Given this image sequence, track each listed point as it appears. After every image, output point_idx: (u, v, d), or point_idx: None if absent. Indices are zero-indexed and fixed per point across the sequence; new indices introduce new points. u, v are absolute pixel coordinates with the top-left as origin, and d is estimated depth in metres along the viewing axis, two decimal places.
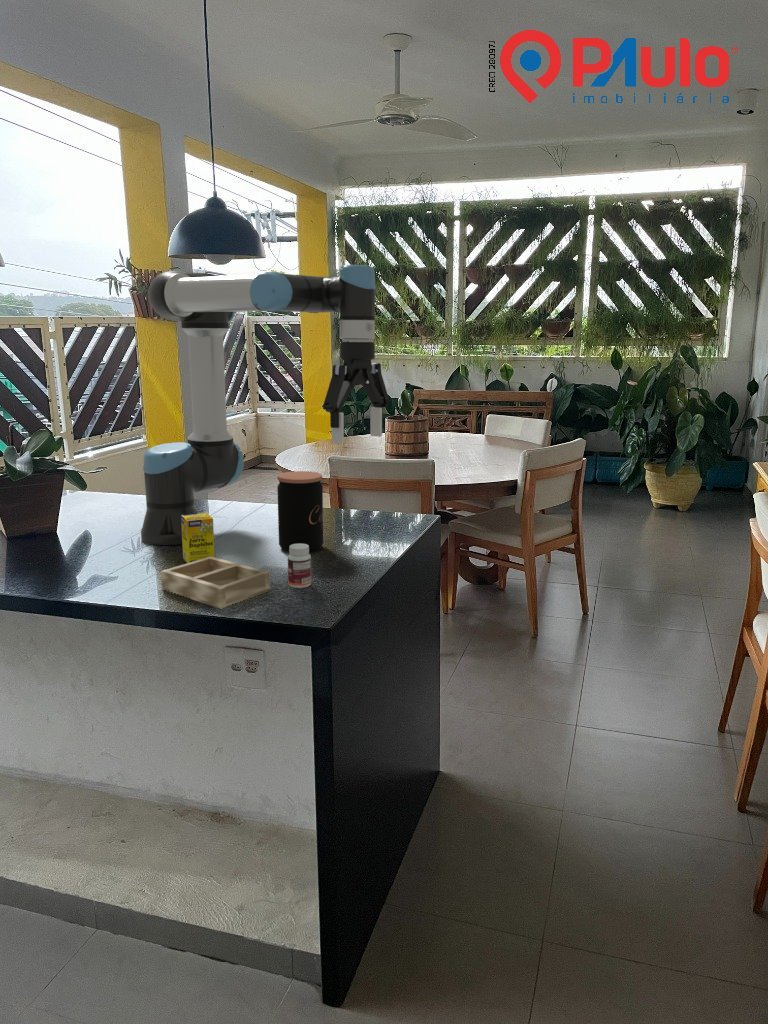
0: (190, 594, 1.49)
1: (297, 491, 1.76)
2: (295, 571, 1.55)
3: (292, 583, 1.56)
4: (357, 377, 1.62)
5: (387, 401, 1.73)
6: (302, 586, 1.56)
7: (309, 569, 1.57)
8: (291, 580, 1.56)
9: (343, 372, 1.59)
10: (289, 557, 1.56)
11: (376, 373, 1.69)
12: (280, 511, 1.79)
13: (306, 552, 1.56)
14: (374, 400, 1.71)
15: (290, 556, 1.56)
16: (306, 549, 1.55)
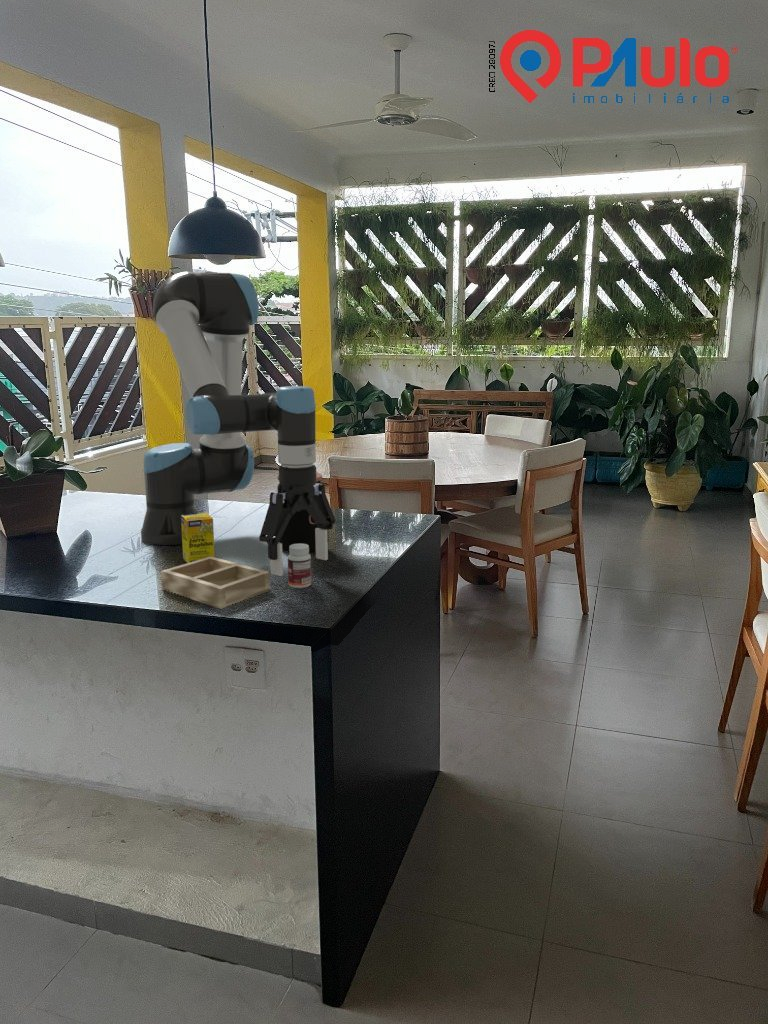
0: (190, 594, 1.49)
1: None
2: (295, 571, 1.55)
3: (292, 583, 1.56)
4: (297, 504, 1.51)
5: (333, 522, 1.62)
6: (302, 586, 1.56)
7: (309, 569, 1.57)
8: (291, 580, 1.56)
9: (281, 501, 1.48)
10: (289, 557, 1.56)
11: (320, 495, 1.58)
12: None
13: (306, 552, 1.56)
14: (319, 522, 1.60)
15: (290, 556, 1.56)
16: (306, 549, 1.55)
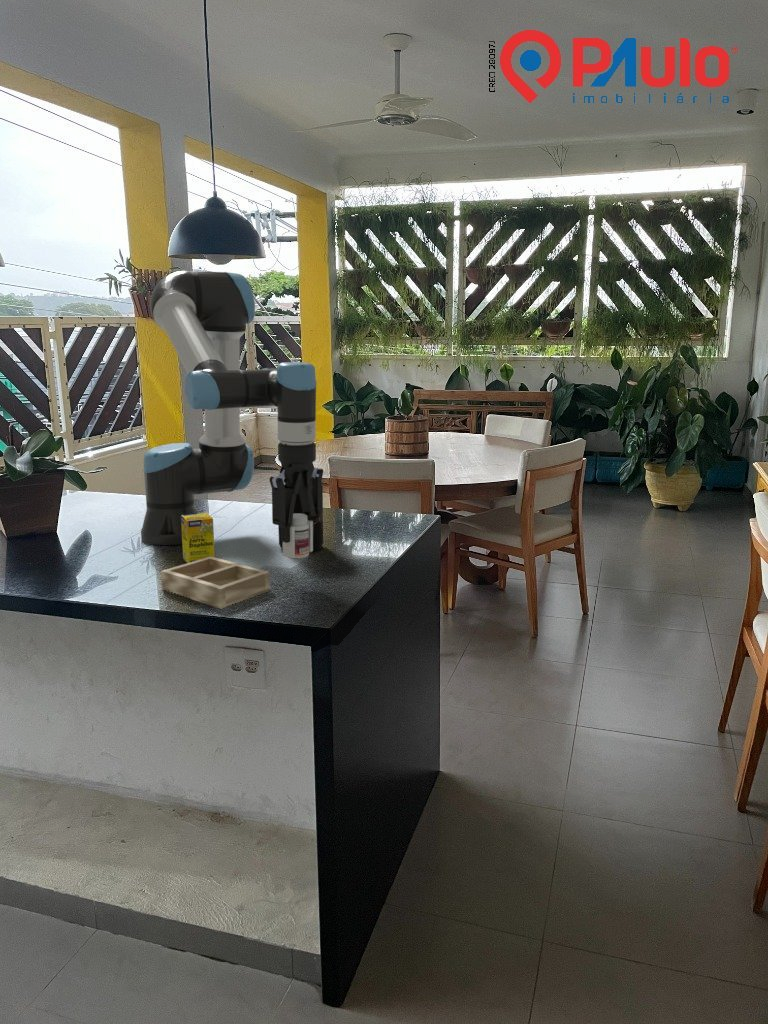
0: (190, 594, 1.49)
1: None
2: None
3: None
4: (298, 482, 1.51)
5: (319, 512, 1.59)
6: (300, 556, 1.55)
7: (307, 539, 1.56)
8: None
9: (282, 485, 1.48)
10: None
11: (316, 478, 1.57)
12: None
13: (304, 522, 1.54)
14: (306, 510, 1.57)
15: None
16: (305, 519, 1.54)
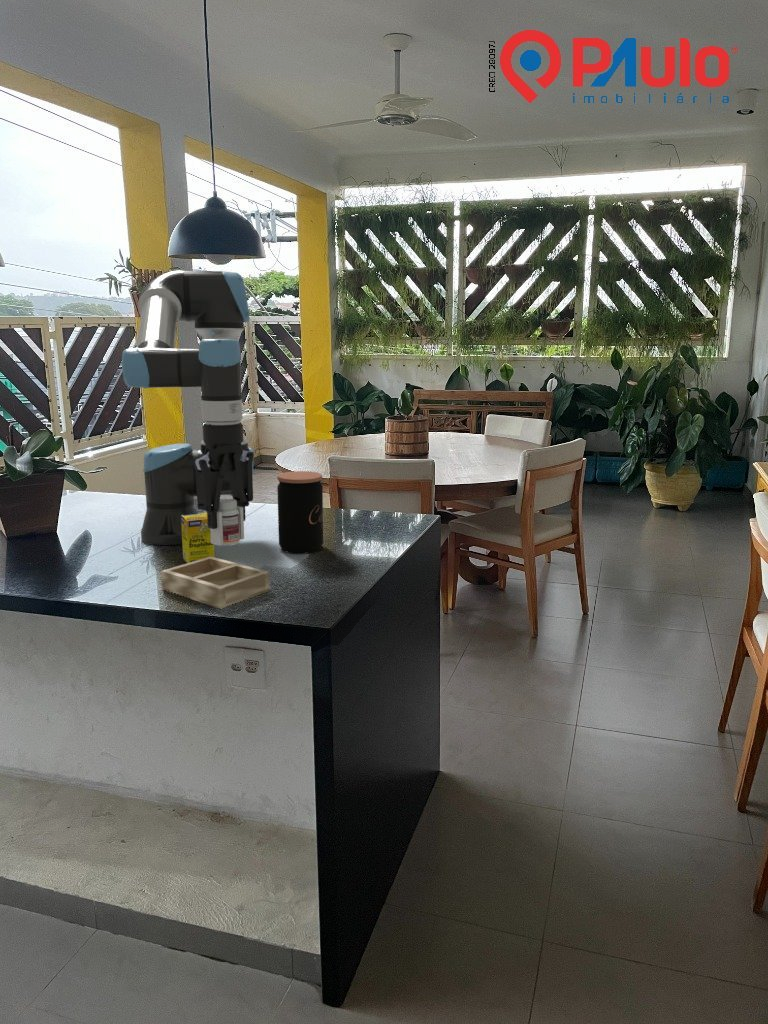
0: (190, 594, 1.49)
1: (297, 491, 1.76)
2: None
3: None
4: (224, 465, 1.44)
5: (250, 498, 1.51)
6: (229, 543, 1.47)
7: (237, 525, 1.48)
8: None
9: (205, 467, 1.41)
10: None
11: (246, 462, 1.49)
12: (280, 511, 1.79)
13: (233, 507, 1.47)
14: (236, 495, 1.50)
15: None
16: (233, 504, 1.47)
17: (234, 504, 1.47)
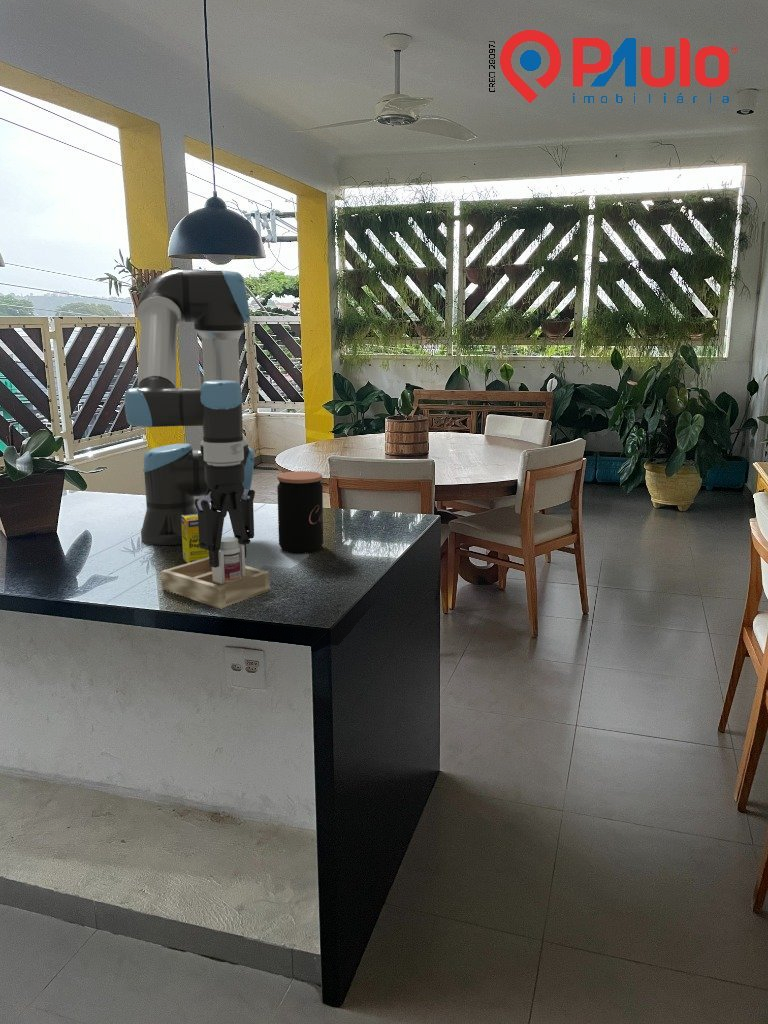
0: (190, 594, 1.49)
1: (297, 491, 1.76)
2: None
3: None
4: (225, 504, 1.46)
5: (251, 535, 1.53)
6: (230, 581, 1.49)
7: (238, 563, 1.50)
8: None
9: (207, 507, 1.43)
10: None
11: (247, 500, 1.51)
12: (280, 511, 1.79)
13: (234, 545, 1.49)
14: (237, 533, 1.51)
15: None
16: (235, 543, 1.49)
17: (235, 542, 1.49)
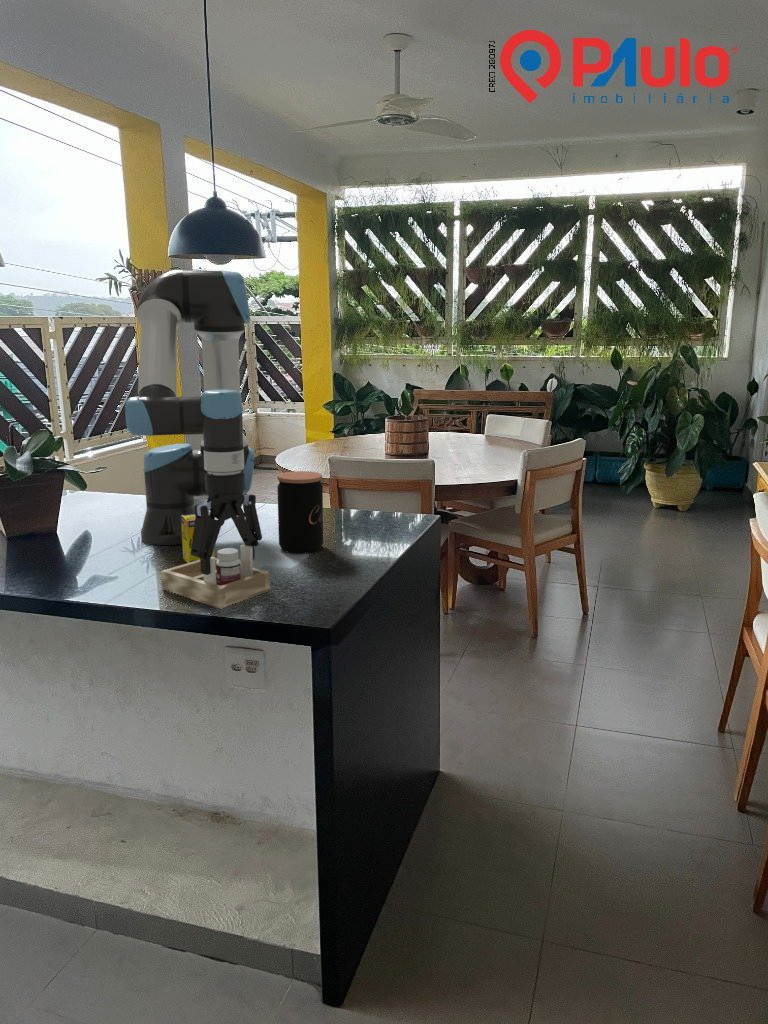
0: (190, 594, 1.49)
1: (297, 491, 1.76)
2: (223, 577, 1.49)
3: None
4: (225, 513, 1.46)
5: (259, 538, 1.55)
6: None
7: (238, 575, 1.50)
8: None
9: (206, 513, 1.43)
10: (217, 562, 1.50)
11: (249, 505, 1.52)
12: (280, 511, 1.79)
13: (235, 557, 1.49)
14: (244, 536, 1.53)
15: (218, 561, 1.49)
16: (235, 554, 1.49)
17: (236, 554, 1.49)
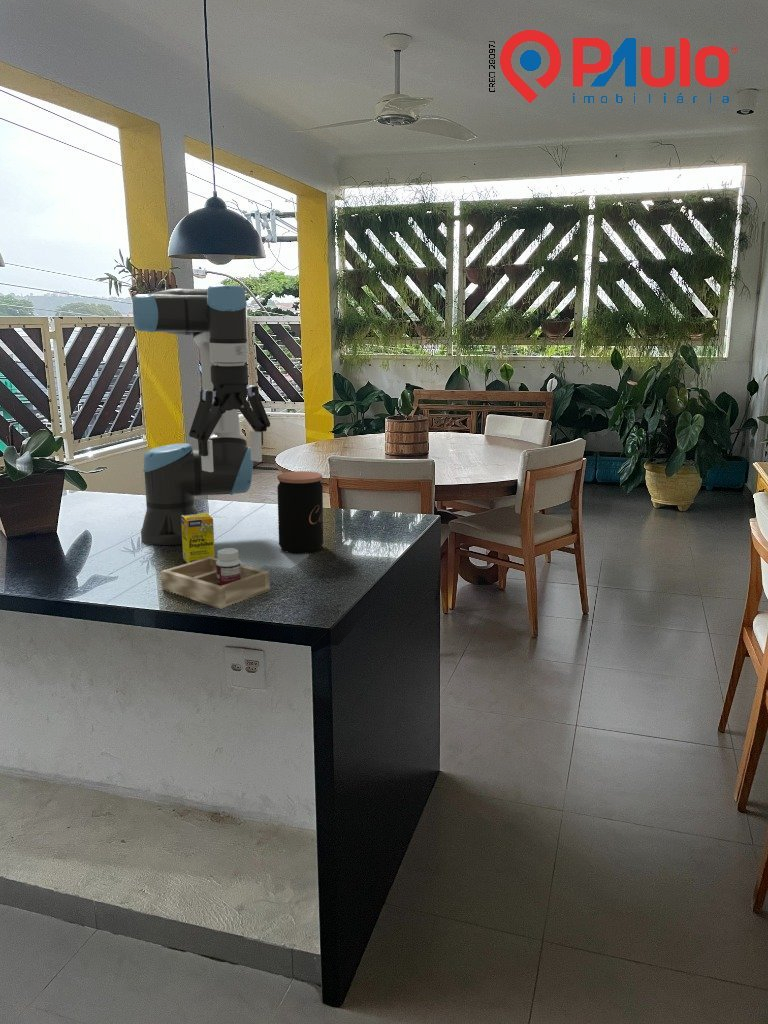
0: (190, 594, 1.49)
1: (297, 491, 1.76)
2: (223, 577, 1.49)
3: None
4: (228, 402, 1.55)
5: (268, 424, 1.66)
6: None
7: (238, 575, 1.50)
8: None
9: (210, 398, 1.52)
10: (217, 562, 1.50)
11: (253, 396, 1.61)
12: (280, 511, 1.79)
13: (235, 557, 1.49)
14: (253, 424, 1.64)
15: (218, 561, 1.49)
16: (235, 554, 1.49)
17: (236, 554, 1.49)
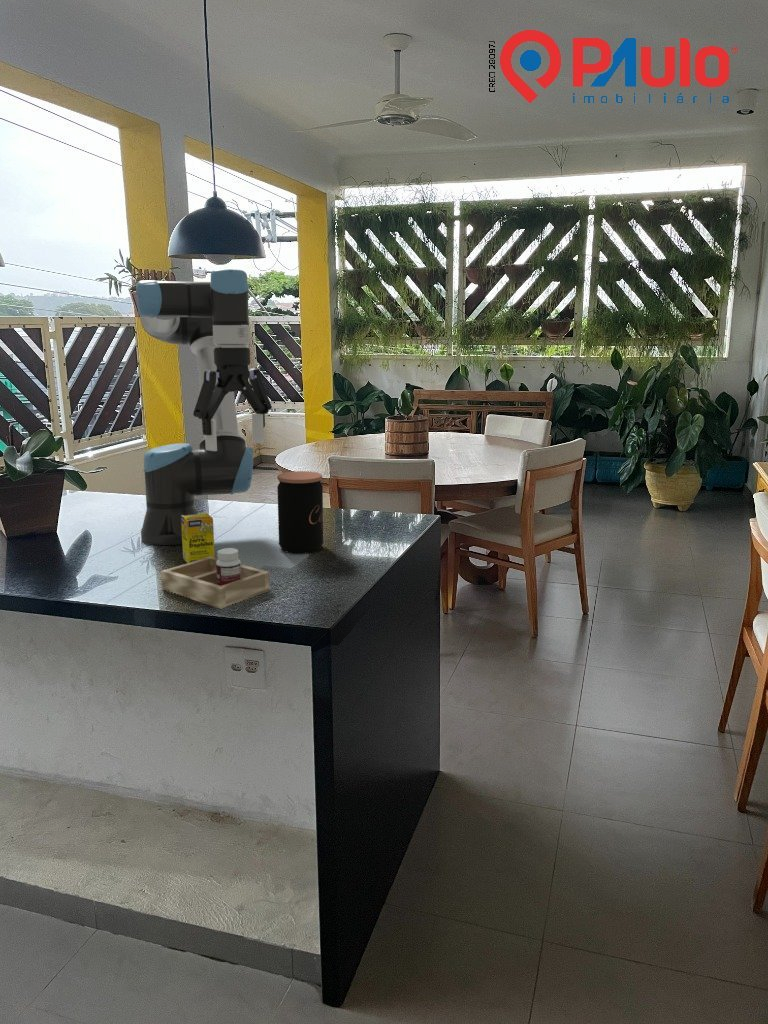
0: (190, 594, 1.49)
1: (297, 491, 1.76)
2: (223, 577, 1.49)
3: None
4: (231, 383, 1.59)
5: (269, 407, 1.70)
6: None
7: (238, 575, 1.50)
8: None
9: (214, 378, 1.56)
10: (217, 562, 1.50)
11: (255, 379, 1.66)
12: (280, 511, 1.79)
13: (235, 557, 1.49)
14: (255, 406, 1.68)
15: (218, 561, 1.49)
16: (235, 554, 1.49)
17: (236, 554, 1.49)
